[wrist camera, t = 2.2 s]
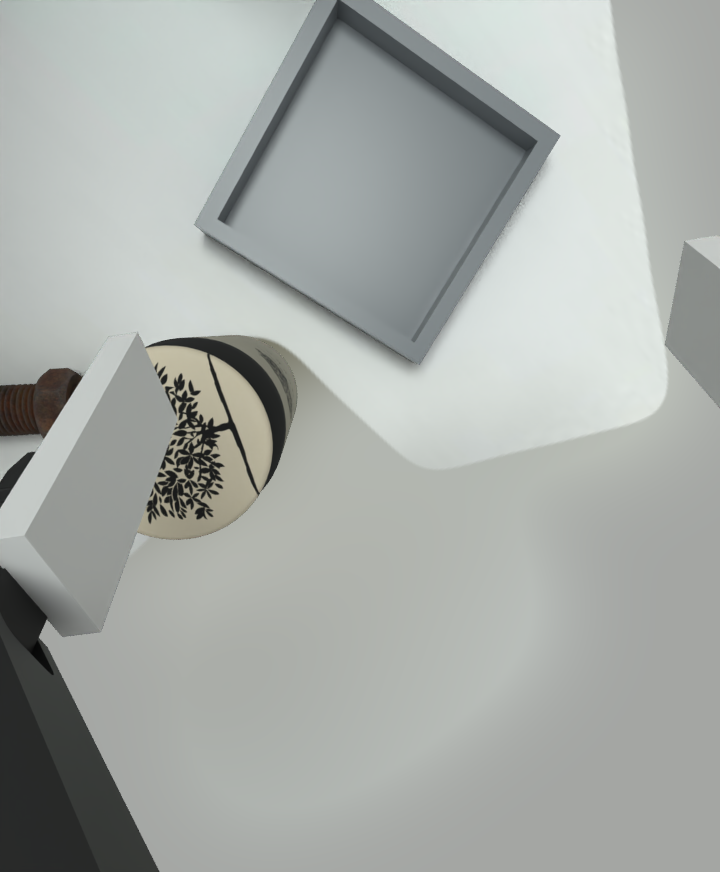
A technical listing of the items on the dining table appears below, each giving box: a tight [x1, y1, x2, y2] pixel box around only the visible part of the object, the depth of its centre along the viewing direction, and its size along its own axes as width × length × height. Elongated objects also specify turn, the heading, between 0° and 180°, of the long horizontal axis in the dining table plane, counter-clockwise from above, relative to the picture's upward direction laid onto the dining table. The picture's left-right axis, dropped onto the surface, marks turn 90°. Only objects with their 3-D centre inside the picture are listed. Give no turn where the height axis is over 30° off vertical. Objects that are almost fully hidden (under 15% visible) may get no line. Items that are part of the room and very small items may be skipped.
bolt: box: [0, 368, 82, 438], centre depth 37 cm, size 6×5×15 cm
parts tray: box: [194, 0, 560, 365], centre depth 36 cm, size 16×16×3 cm
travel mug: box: [137, 335, 297, 540], centre depth 31 cm, size 8×8×18 cm
